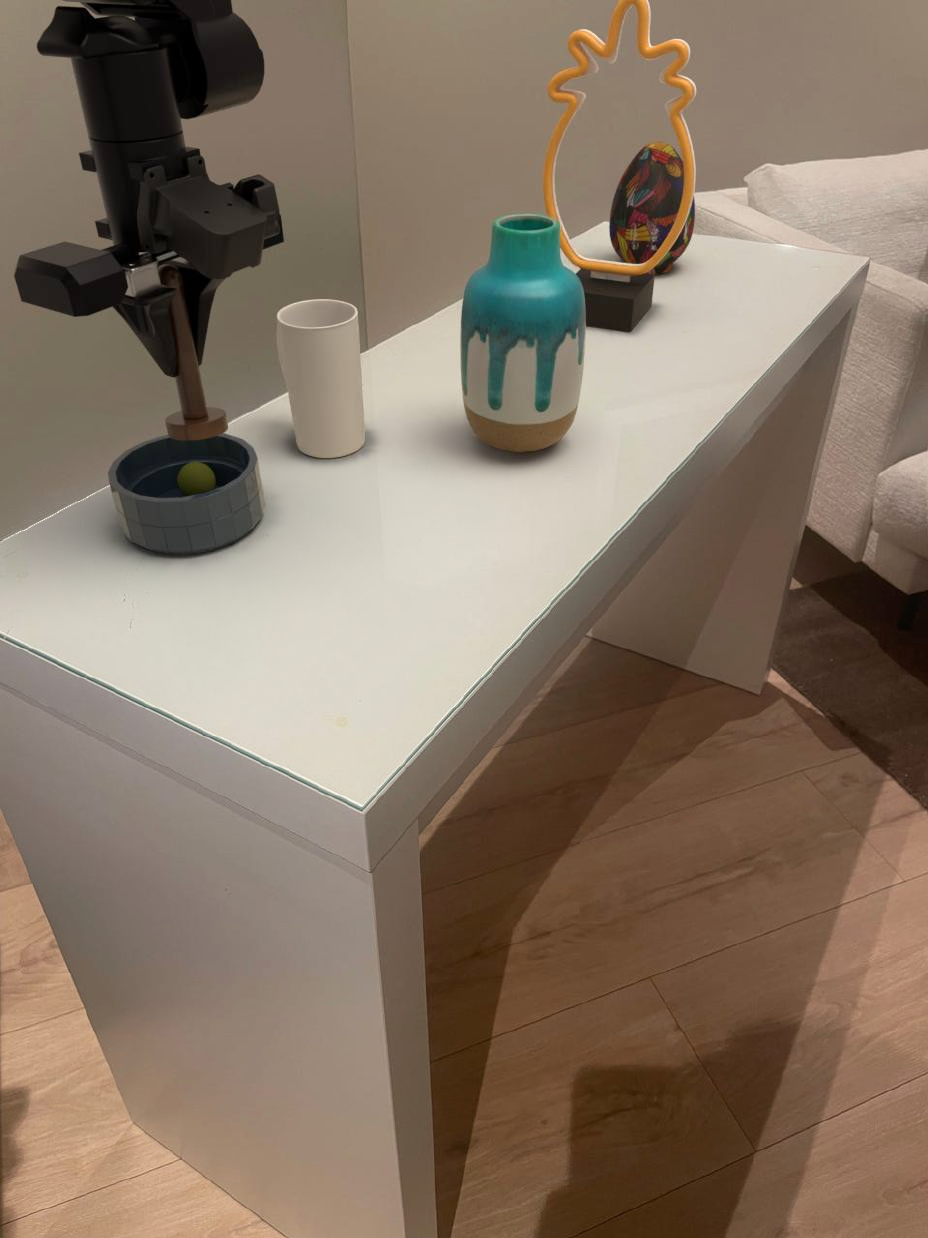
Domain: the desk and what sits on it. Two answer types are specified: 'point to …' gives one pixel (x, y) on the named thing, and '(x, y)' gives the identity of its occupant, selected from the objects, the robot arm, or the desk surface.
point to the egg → (650, 208)
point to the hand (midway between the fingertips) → (183, 370)
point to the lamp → (623, 287)
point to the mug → (323, 375)
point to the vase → (522, 338)
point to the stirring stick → (188, 372)
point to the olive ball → (196, 479)
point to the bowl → (181, 521)
